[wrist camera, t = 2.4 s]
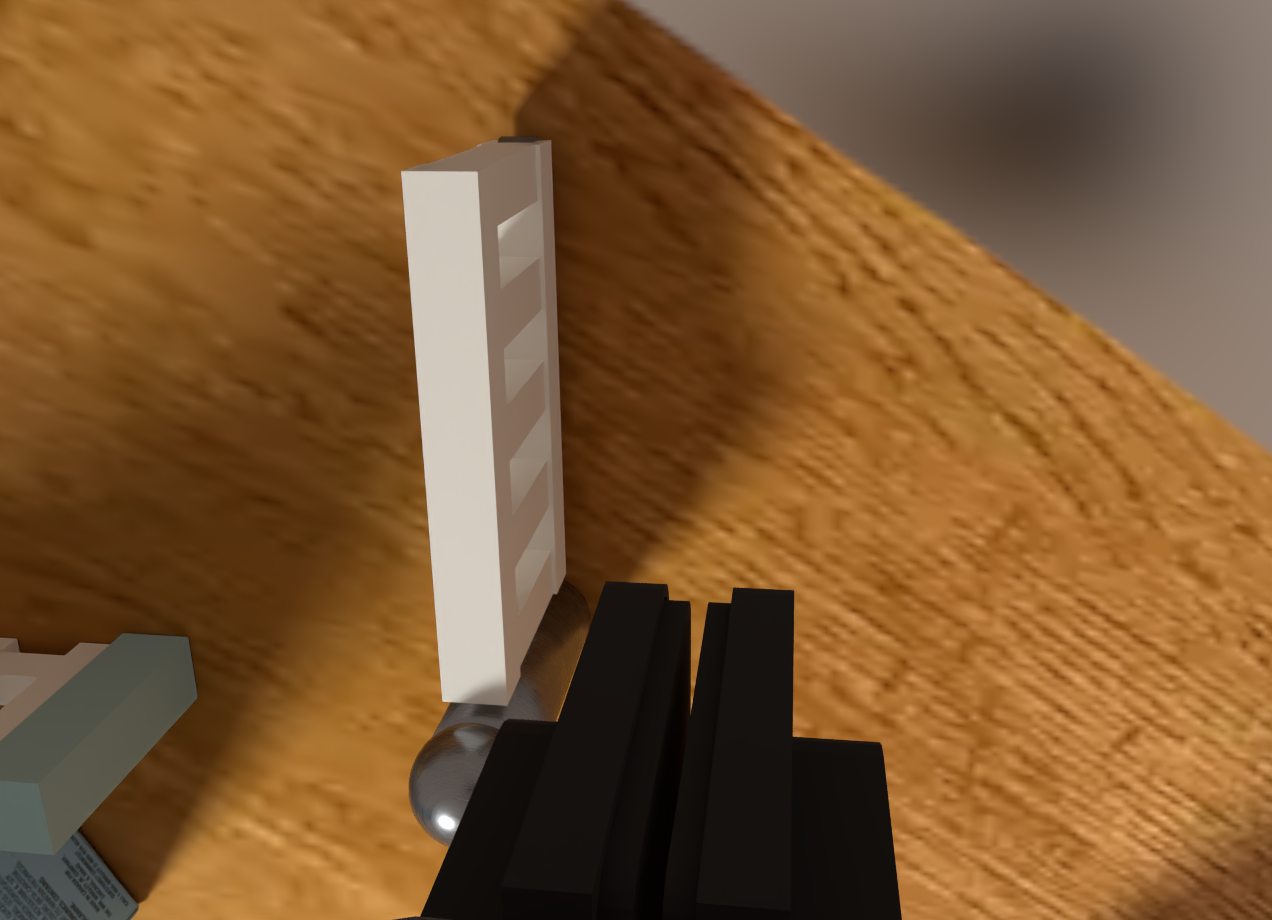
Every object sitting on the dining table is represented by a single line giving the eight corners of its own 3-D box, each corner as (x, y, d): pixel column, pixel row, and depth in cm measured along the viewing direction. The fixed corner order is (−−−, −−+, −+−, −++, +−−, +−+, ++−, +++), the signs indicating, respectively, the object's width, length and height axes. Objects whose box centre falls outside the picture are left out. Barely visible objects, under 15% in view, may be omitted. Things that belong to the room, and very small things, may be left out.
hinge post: (593, 575, 31) (514, 773, 23) (595, 661, 32) (520, 882, 24) (497, 570, 31) (385, 764, 23) (502, 655, 32) (396, 872, 24)
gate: (569, 566, 31) (507, 706, 24) (517, 563, 31) (442, 701, 25) (555, 133, 27) (477, 165, 21) (495, 134, 27) (400, 165, 21)
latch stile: (188, 637, 33) (38, 783, 27) (197, 697, 34) (54, 855, 28) (122, 632, 34) (-42, 777, 27) (133, 693, 34) (-24, 848, 28)
